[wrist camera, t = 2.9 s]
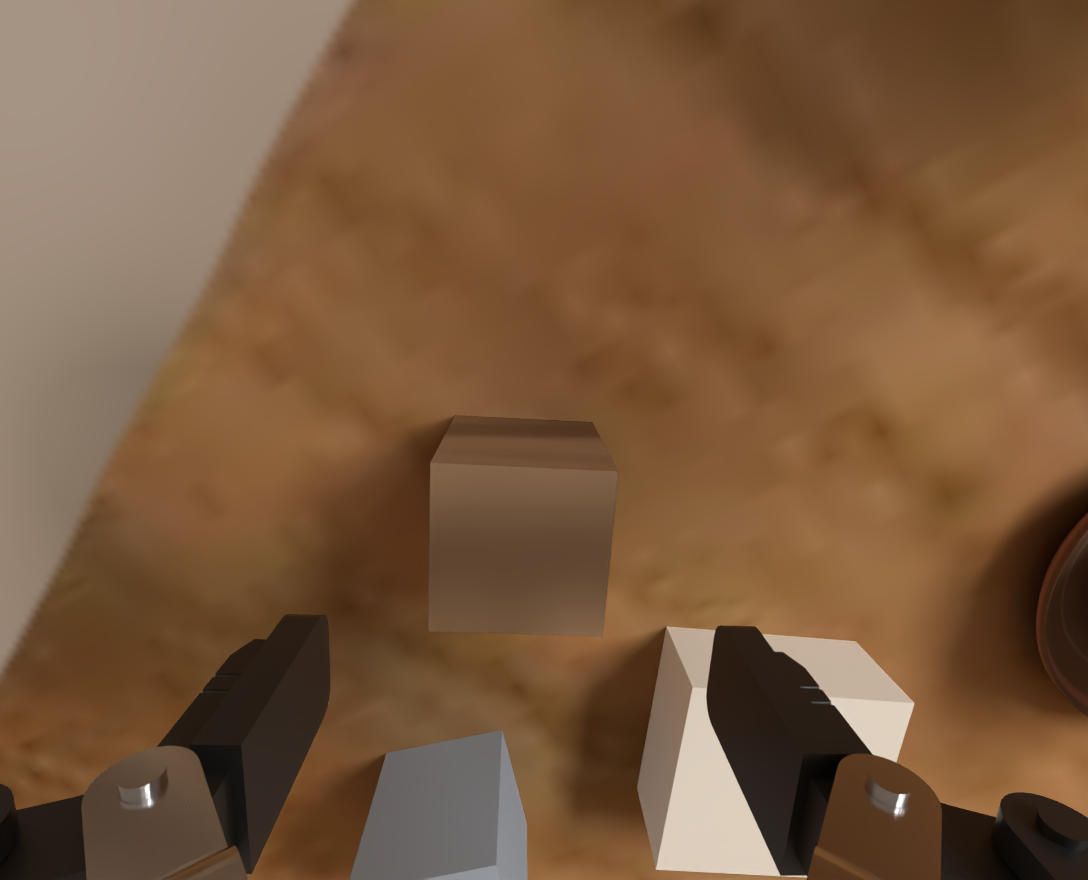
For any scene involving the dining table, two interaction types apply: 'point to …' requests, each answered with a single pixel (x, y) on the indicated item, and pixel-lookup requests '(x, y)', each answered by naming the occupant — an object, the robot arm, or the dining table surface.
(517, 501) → the walnut block
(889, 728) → the cream base block
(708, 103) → the dining table surface
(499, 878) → the slate block
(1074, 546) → the cup and saucer
